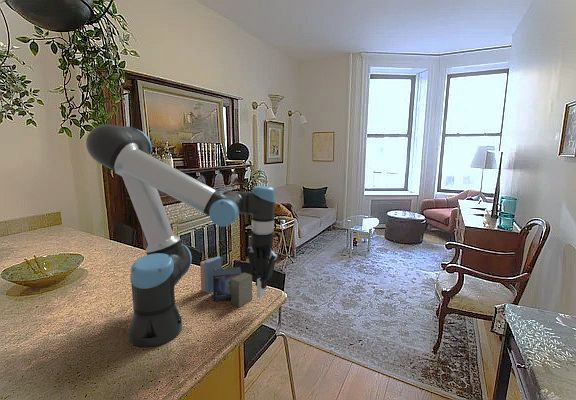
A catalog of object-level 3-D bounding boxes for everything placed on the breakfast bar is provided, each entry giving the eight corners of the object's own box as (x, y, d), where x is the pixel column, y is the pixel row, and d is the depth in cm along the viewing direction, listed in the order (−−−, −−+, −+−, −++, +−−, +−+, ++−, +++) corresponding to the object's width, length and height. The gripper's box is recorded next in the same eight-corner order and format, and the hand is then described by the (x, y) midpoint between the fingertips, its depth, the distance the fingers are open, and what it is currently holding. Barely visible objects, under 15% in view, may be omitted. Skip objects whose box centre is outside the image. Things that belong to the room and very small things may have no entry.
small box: (213, 302, 110) (212, 275, 108) (213, 293, 116) (212, 268, 114) (242, 298, 113) (241, 272, 111) (240, 290, 119) (239, 266, 117)
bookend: (239, 307, 106) (238, 281, 105) (231, 304, 109) (230, 278, 107) (252, 299, 112) (252, 275, 110) (244, 296, 114) (244, 272, 113)
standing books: (208, 294, 116) (207, 262, 114) (201, 290, 118) (200, 260, 116) (222, 287, 121) (221, 257, 119) (214, 284, 124) (213, 255, 122)
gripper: (284, 233, 100) (281, 297, 104) (255, 225, 107) (254, 286, 111) (270, 237, 94) (268, 306, 98) (241, 230, 101) (240, 293, 105)
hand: (260, 295), depth 104 cm, fingers closed
